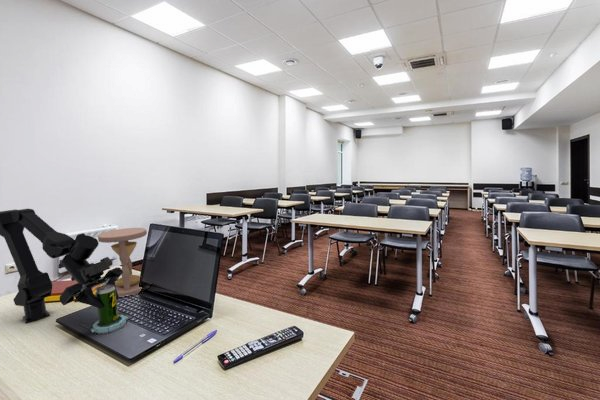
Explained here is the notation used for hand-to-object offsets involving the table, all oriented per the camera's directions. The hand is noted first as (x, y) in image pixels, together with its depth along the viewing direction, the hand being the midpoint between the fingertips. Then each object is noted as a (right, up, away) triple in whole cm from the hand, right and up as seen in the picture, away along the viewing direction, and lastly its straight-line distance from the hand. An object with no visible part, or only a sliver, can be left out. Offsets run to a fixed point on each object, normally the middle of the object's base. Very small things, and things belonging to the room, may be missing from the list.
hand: (110, 303), depth 96 cm
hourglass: (-12, -5, +31) cm, 34 cm away
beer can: (-1, -7, +1) cm, 7 cm away
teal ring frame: (-1, -8, +1) cm, 8 cm away
